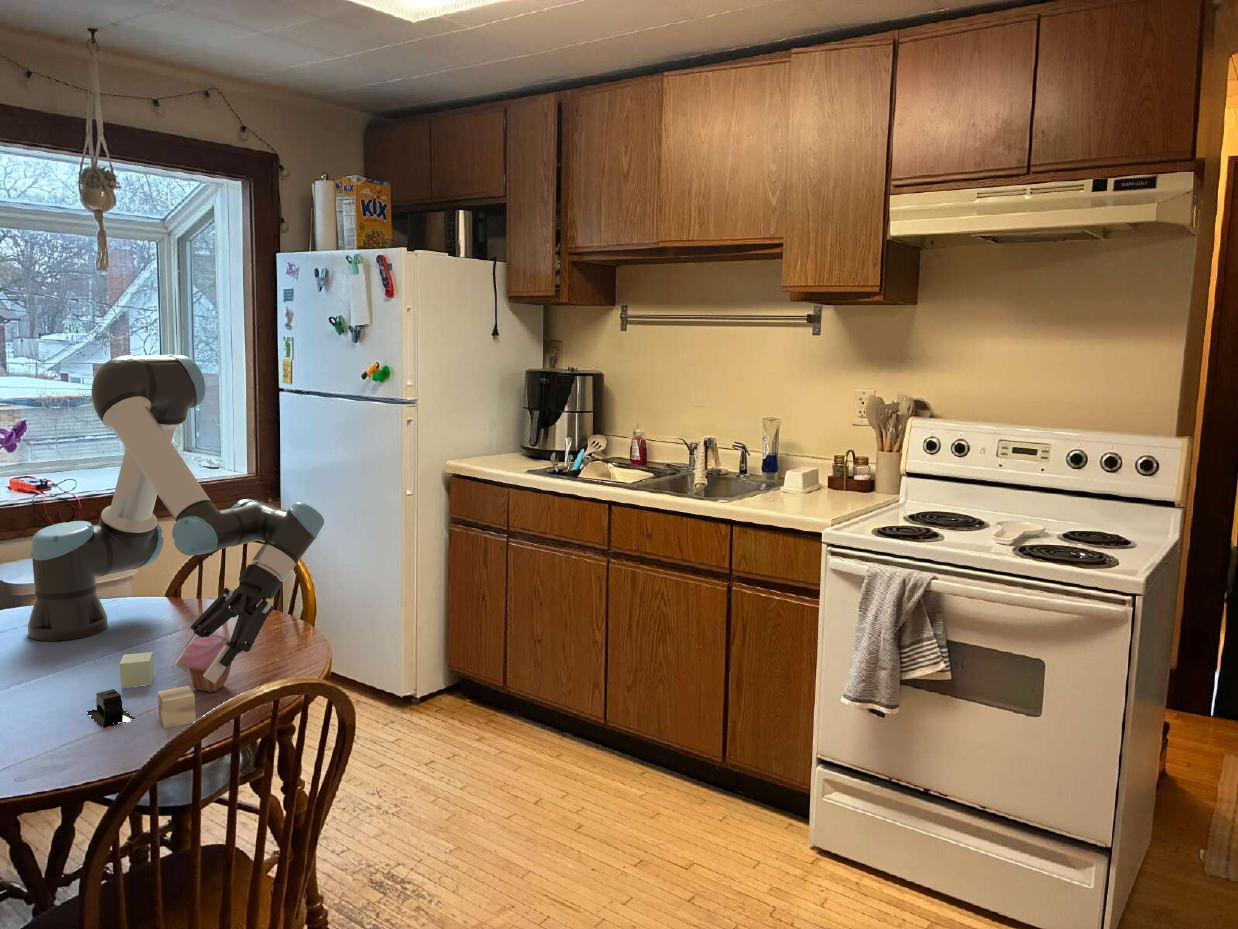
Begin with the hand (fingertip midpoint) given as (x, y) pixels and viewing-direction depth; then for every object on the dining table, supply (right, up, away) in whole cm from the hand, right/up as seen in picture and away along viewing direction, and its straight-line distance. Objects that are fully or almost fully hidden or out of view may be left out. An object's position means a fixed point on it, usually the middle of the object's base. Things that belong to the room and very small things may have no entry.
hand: (194, 673), depth 173 cm
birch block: (+2, -6, -11) cm, 13 cm away
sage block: (-13, -3, +5) cm, 14 cm away
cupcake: (+2, -4, +3) cm, 5 cm away
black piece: (-10, -6, -10) cm, 15 cm away
